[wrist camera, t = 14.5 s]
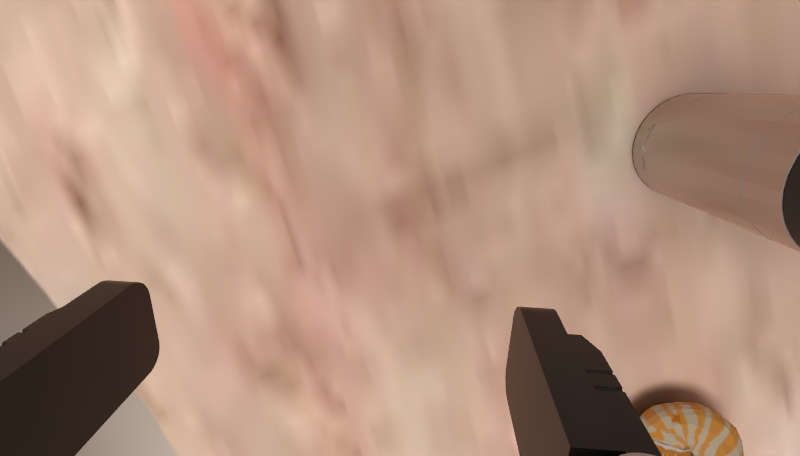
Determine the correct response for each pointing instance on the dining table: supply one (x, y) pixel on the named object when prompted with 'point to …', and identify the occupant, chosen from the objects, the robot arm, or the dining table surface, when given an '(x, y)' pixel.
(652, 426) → the nautilus
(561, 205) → the dining table surface
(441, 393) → the dining table surface
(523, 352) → the robot arm
